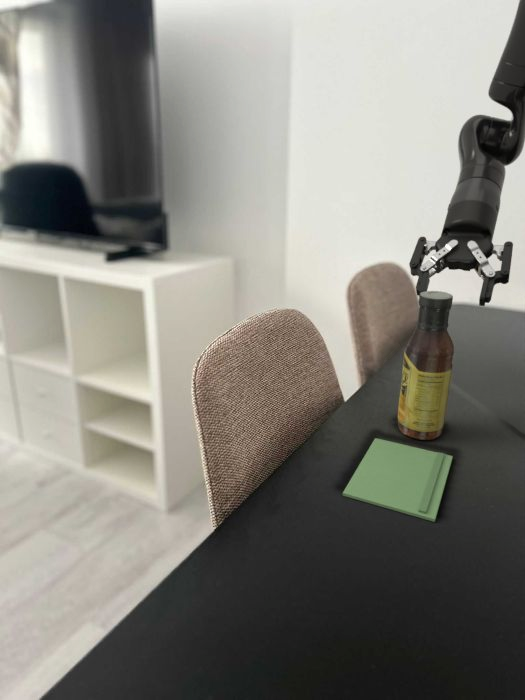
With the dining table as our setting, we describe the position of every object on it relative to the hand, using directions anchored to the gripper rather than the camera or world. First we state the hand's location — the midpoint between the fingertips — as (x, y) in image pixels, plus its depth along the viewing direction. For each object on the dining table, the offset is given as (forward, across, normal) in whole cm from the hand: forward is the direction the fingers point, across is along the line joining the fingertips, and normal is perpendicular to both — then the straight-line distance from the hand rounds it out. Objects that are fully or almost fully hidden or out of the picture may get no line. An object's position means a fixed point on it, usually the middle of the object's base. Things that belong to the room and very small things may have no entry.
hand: (450, 299), depth 76 cm
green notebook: (+28, 0, +5) cm, 29 cm away
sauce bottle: (+20, 0, -4) cm, 20 cm away
